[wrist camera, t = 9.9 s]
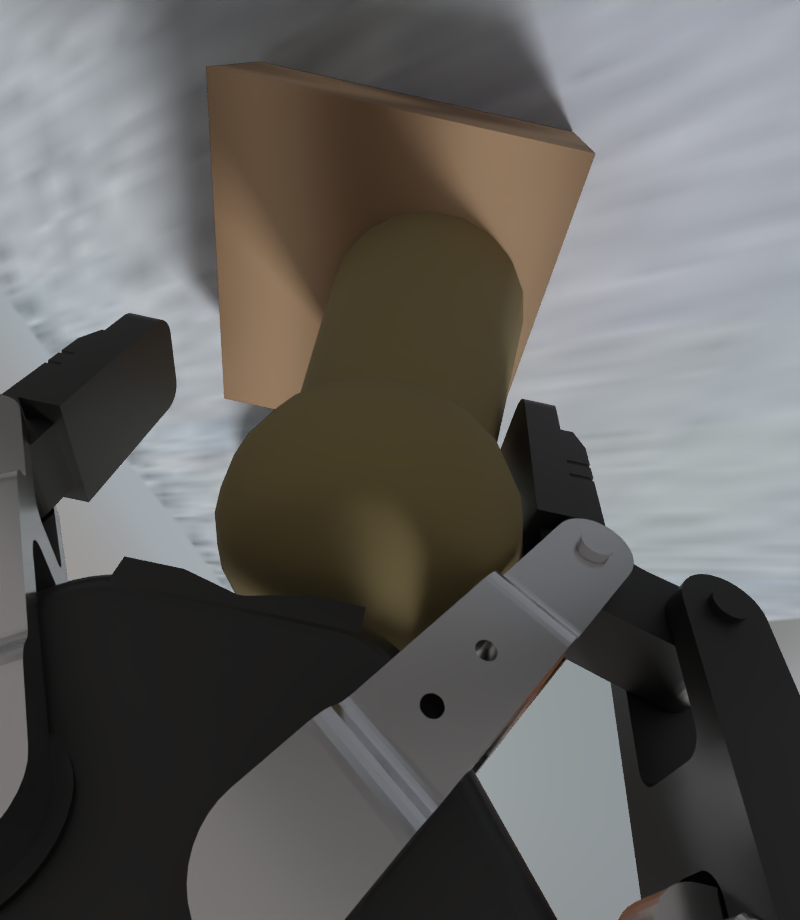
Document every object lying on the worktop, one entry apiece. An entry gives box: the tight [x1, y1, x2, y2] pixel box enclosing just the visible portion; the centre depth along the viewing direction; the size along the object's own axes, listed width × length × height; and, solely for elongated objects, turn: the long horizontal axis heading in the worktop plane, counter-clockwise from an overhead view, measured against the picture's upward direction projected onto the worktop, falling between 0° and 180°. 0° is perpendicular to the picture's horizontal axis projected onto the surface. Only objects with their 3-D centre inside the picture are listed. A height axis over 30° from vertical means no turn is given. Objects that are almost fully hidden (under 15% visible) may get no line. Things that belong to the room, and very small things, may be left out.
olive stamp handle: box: [215, 211, 523, 651], centre depth 12 cm, size 6×6×11 cm
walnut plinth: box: [206, 62, 595, 409], centre depth 18 cm, size 10×10×4 cm
